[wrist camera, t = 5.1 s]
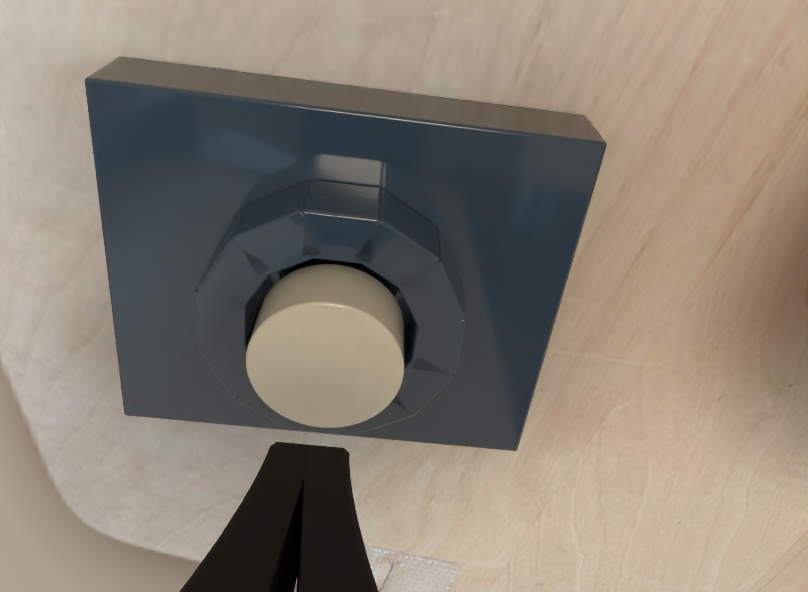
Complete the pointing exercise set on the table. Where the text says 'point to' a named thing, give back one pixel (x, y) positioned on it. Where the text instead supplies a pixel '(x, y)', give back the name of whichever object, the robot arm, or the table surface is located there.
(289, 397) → the cream cylinder puck
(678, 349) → the table surface
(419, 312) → the push button base
